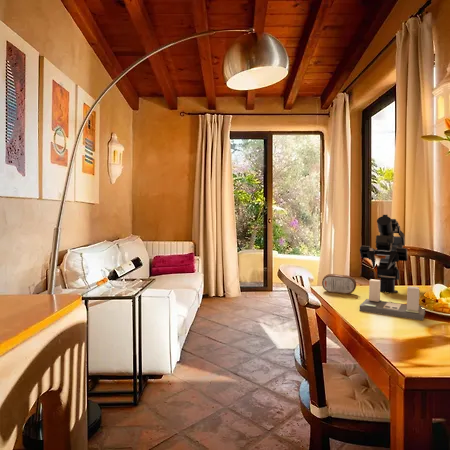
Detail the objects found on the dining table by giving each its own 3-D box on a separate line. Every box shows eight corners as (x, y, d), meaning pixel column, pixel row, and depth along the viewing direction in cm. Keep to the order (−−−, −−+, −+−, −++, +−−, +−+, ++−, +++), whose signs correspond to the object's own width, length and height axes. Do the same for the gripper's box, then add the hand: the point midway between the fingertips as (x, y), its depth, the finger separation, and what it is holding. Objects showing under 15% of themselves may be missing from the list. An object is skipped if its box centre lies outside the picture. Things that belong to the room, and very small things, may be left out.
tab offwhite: (370, 298, 140) (370, 279, 140) (379, 300, 138) (380, 280, 138) (369, 300, 138) (369, 280, 137) (378, 301, 136) (378, 281, 135)
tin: (356, 293, 159) (356, 275, 159) (355, 295, 156) (355, 276, 156) (322, 290, 166) (322, 273, 165) (321, 292, 163) (321, 274, 162)
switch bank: (366, 303, 142) (366, 298, 142) (425, 312, 130) (425, 306, 130) (359, 310, 132) (359, 304, 132) (422, 320, 120) (423, 313, 120)
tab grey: (407, 307, 127) (408, 286, 127) (418, 309, 125) (419, 287, 125) (406, 309, 125) (407, 287, 125) (417, 311, 123) (418, 288, 123)
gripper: (361, 227, 156) (354, 254, 147) (407, 229, 146) (403, 258, 137) (364, 244, 163) (358, 270, 154) (409, 246, 152) (405, 275, 144)
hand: (380, 268), depth 147 cm, fingers open, 5 cm apart
